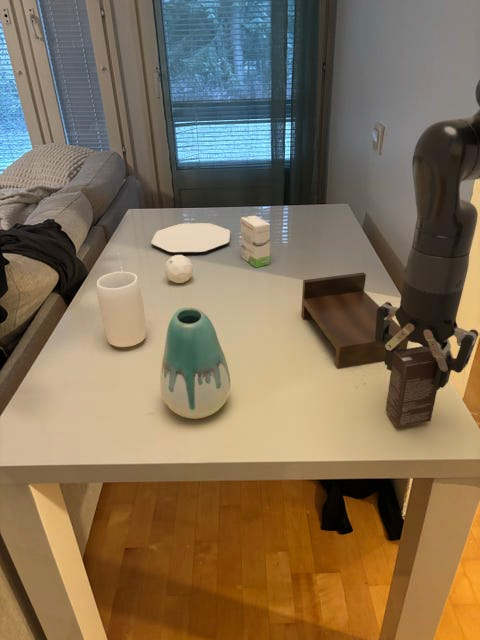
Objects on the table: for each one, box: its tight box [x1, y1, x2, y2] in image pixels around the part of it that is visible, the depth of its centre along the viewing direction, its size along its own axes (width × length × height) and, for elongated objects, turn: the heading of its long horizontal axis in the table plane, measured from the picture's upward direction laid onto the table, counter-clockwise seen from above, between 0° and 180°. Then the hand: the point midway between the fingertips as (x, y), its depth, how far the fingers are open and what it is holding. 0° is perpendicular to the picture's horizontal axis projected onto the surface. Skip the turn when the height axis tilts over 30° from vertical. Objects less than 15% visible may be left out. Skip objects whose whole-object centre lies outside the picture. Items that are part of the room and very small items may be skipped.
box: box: [385, 345, 439, 428], centre depth 72 cm, size 6×4×12 cm
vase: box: [159, 307, 231, 420], centre depth 75 cm, size 12×12×18 cm
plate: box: [150, 222, 231, 254], centre depth 144 cm, size 24×24×2 cm
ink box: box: [240, 215, 271, 268], centre depth 127 cm, size 9×5×12 cm, turn 27°
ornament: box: [164, 254, 194, 284], centre depth 118 cm, size 7×7×8 cm
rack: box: [300, 272, 409, 370], centre depth 95 cm, size 14×20×9 cm
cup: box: [96, 271, 147, 348], centre depth 93 cm, size 8×8×14 cm
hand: (413, 376), depth 71 cm, fingers closed on box, 6 cm apart
